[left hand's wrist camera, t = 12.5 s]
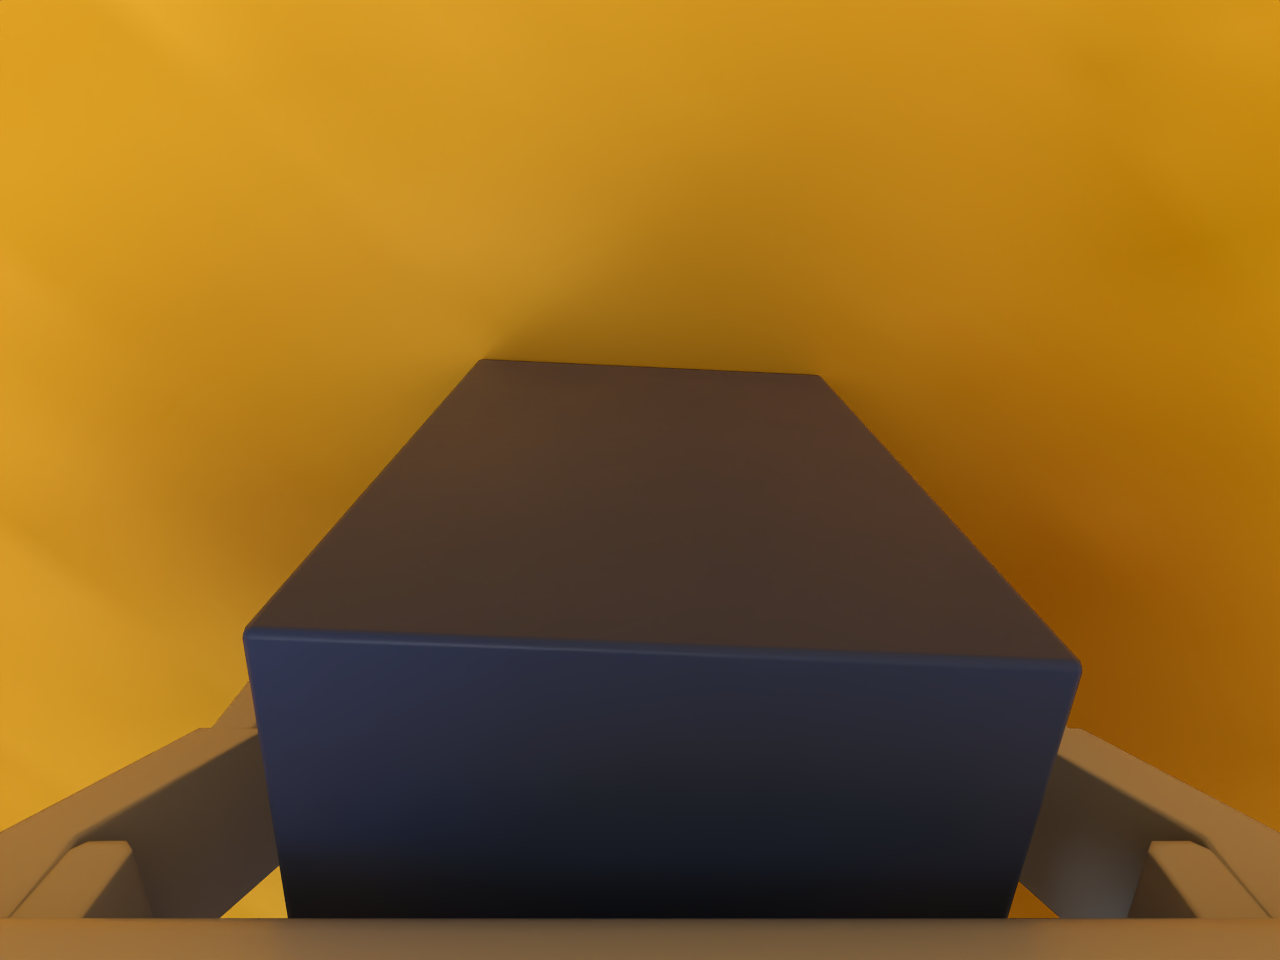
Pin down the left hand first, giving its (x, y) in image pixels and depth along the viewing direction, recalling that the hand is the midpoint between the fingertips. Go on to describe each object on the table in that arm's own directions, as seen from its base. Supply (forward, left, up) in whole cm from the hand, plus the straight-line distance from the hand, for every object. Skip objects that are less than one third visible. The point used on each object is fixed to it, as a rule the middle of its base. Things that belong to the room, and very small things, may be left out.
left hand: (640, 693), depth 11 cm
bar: (-2, +10, -4) cm, 11 cm away
